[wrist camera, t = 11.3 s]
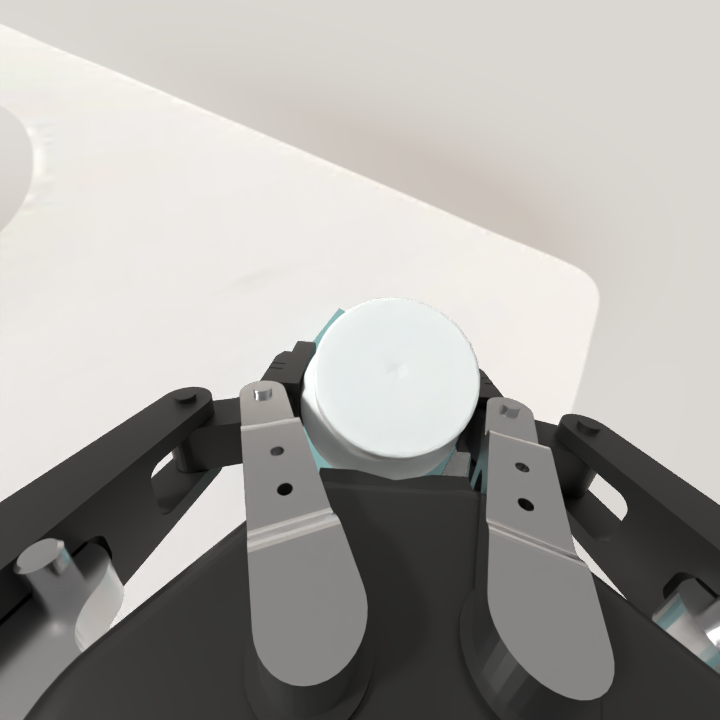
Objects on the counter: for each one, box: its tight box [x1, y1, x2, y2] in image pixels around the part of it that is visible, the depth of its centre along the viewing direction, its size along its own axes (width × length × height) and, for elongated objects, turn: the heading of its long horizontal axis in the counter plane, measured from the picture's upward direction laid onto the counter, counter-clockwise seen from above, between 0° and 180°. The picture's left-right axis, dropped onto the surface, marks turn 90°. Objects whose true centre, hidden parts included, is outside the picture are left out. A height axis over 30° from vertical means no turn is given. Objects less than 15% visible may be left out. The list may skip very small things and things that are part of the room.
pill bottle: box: [300, 298, 480, 480], centre depth 11 cm, size 5×5×10 cm
